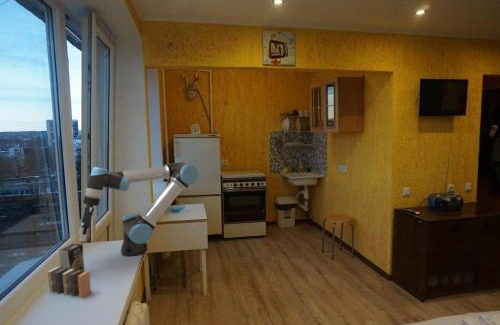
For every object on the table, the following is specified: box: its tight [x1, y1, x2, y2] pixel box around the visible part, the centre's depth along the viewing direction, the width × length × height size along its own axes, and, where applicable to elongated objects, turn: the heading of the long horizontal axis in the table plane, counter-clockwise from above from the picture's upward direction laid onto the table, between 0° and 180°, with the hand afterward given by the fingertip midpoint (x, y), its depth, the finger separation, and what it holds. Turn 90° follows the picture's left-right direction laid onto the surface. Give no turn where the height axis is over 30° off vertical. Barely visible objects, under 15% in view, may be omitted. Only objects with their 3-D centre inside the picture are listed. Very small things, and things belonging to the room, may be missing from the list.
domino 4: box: [70, 270, 82, 297], centre depth 143 cm, size 2×5×10 cm, turn 164°
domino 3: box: [63, 269, 75, 296], centre depth 144 cm, size 2×5×10 cm, turn 164°
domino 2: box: [55, 268, 67, 295], centre depth 146 cm, size 2×5×10 cm, turn 164°
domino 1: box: [47, 266, 61, 293], centre depth 147 cm, size 2×5×10 cm, turn 164°
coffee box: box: [58, 243, 86, 273], centre depth 158 cm, size 9×6×16 cm
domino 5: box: [78, 270, 92, 299], centre depth 142 cm, size 2×5×10 cm, turn 164°
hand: (81, 238), depth 160 cm, fingers open, 13 cm apart
